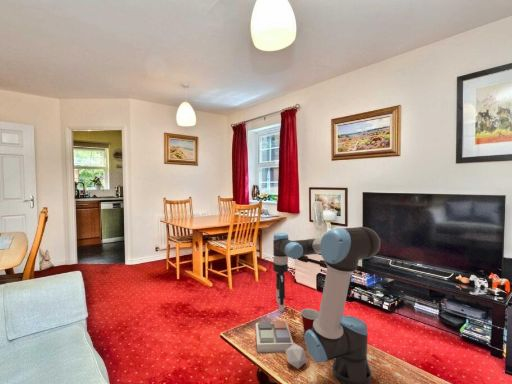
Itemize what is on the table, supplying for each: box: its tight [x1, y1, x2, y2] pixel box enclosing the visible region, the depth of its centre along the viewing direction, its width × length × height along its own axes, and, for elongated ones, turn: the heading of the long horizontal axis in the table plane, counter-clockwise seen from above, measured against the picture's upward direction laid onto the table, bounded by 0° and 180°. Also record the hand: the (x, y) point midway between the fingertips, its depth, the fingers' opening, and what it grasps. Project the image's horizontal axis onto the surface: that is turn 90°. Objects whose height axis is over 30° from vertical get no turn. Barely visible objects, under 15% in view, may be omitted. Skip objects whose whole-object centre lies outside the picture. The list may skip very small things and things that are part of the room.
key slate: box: [275, 330, 289, 343], centre depth 138 cm, size 7×6×3 cm
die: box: [284, 342, 308, 370], centre depth 124 cm, size 8×9×10 cm
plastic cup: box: [300, 308, 319, 334], centre depth 147 cm, size 11×11×12 cm
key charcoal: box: [258, 320, 272, 330], centre depth 147 cm, size 7×6×3 cm
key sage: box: [260, 330, 274, 343], centre depth 138 cm, size 7×6×3 cm
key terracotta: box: [272, 320, 287, 331], centre depth 147 cm, size 7×6×3 cm
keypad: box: [255, 322, 295, 354], centre depth 143 cm, size 20×17×4 cm
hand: (280, 305), depth 147 cm, fingers open, 9 cm apart
